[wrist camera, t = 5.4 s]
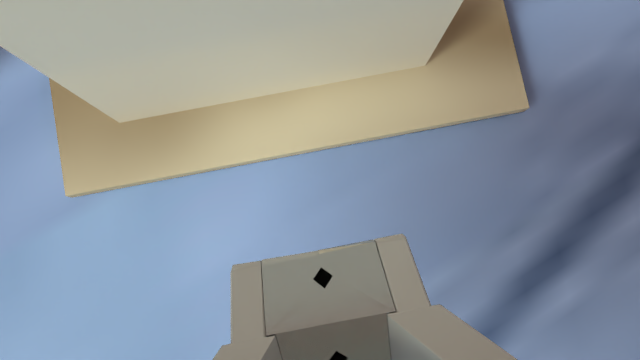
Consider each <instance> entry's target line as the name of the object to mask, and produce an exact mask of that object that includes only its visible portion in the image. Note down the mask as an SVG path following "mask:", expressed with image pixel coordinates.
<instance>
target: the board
mask: <svg viewBox="0 0 640 360" xmlns="http://www.w3.org/2000/svg"><path fill="white" fill-rule="evenodd" d="M49 80H50V87H51V95H52V102H53V109H54V116H55V123H56V130H57V138H58V145H59V152H60V159H61V166H62V173H63V180H64V188H65V195H66V196H68V197H77V196H83V195H88V194H93V193H99V192H104V191H109V190H114V189H120V188H125V187H130V186H135V185H141V184H146V183H151V182H156V181H162V180H167V179H172V178H177V177H183V176H188V175H193V174H198V173H204V172H209V171H214V170H219V169H225V168H230V167H235V166H240V165H246V164H251V163H256V162H261V161H267V160H272V159H277V158H282V157H288V156H293V155H298V154H303V153H309V152H314V151H319V150H324V149H330V148H335V147H340V146H345V145H351V144H356V143H361V142H366V141H372V140H377V139H382V138H387V137H393V136H398V135H403V134H408V133H414V132H419V131H424V130H429V129H435V128H440V127H445V126H450V125H456V124H461V123H466V122H471V121H477V120H482V119H487V118H492V117H498V116H503V115H508V114H513V113H519V112H524V111H525V110H527V109H528V108H529V104H528V99H527V95H526V91H525V87H524V83H523V79H522V75H521V71H520V67H519V63H518V59H517V55H516V50H515V46H514V42H513V38H512V34H511V30H510V26H509V22H508V18H507V14H506V10H505V6H504V1H503V0H464V1H463V2H462V4H461V6H460V7H459V9H458V11H457V12H456V14H455V16H454V18H453V19H452V21H451V23H450V24H449V26H448V28H447V29H446V31H445V33H444V35H443V36H442V38H441V40H440V41H439V43H438V45H437V46H436V48H435V50H434V52H433V53H432V55H431V57H430V58H429V60H428V62H427V63H426V65H425V66H421V67H415V68H410V69H405V70H399V71H394V72H389V73H383V74H378V75H373V76H367V77H362V78H357V79H351V80H346V81H341V82H335V83H330V84H324V85H319V86H314V87H308V88H303V89H298V90H292V91H287V92H282V93H276V94H271V95H266V96H260V97H255V98H250V99H244V100H239V101H234V102H228V103H223V104H218V105H212V106H207V107H202V108H196V109H191V110H186V111H180V112H175V113H169V114H164V115H159V116H153V117H148V118H143V119H137V120H132V121H127V122H121V123H119V122H117V121H116V120H114V119H113V118H111V117H110V116H108V115H106V114H105V113H103V112H102V111H100V110H99V109H97V108H96V107H94V106H92V105H91V104H89V103H88V102H86V101H85V100H83V99H82V98H80V97H78V96H77V95H75V94H74V93H72V92H71V91H69V90H68V89H66V88H65V87H63V86H61V85H60V84H58V83H57V82H55V81H54V80H52V79H51V78H49Z"/></svg>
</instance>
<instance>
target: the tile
mask: <svg viewBox="0 0 640 360" xmlns="http://www.w3.org/2000/svg"><path fill="white" fill-rule="evenodd" d="M463 1H464V0H0V46H1V47H2V48H4V49H6V50H7V51H9V52H10V53H12V54H13V55H15V56H16V57H18V58H19V59H21V60H23V61H24V62H26V63H27V64H29V65H30V66H32V67H33V68H35V69H37V70H38V71H40V72H41V73H43V74H44V75H46V76H47V77H49V78H51V79H52V80H54V81H55V82H57V83H58V84H60V85H61V86H63V87H65V88H66V89H68V90H69V91H71V92H72V93H74V94H75V95H77V96H78V97H80V98H82V99H83V100H85V101H86V102H88V103H89V104H91V105H92V106H94V107H96V108H97V109H99V110H100V111H102V112H103V113H105V114H106V115H108V116H110V117H111V118H113V119H114V120H116V121H117V122H119V123H121V122H127V121H132V120H137V119H143V118H148V117H153V116H159V115H164V114H169V113H175V112H180V111H186V110H191V109H196V108H202V107H207V106H212V105H218V104H223V103H228V102H234V101H239V100H244V99H250V98H255V97H260V96H266V95H271V94H276V93H282V92H287V91H292V90H298V89H303V88H308V87H314V86H319V85H324V84H330V83H335V82H341V81H346V80H351V79H357V78H362V77H367V76H373V75H378V74H383V73H389V72H394V71H399V70H405V69H410V68H415V67H421V66H425V65H426V63H427V62H428V60H429V58H430V57H431V55H432V53H433V52H434V50H435V48H436V46H437V45H438V43H439V41H440V40H441V38H442V36H443V35H444V33H445V31H446V29H447V28H448V26H449V24H450V23H451V21H452V19H453V18H454V16H455V14H456V12H457V11H458V9H459V7H460V6H461V4H462V2H463Z"/></svg>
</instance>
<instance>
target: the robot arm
mask: <svg viewBox="0 0 640 360" xmlns="http://www.w3.org/2000/svg"><path fill="white" fill-rule="evenodd" d="M213 360H517V359H516V358H514V357H513V356H512V355H510V354H509V353H507V352H506V351H505V350H503V349H502V348H500V347H499V346H498V345H496V344H495V343H493V342H492V341H491V340H489V339H488V338H486V337H485V336H484V335H482V334H481V333H479V332H478V331H477V330H475V329H474V328H472V327H471V326H470V325H468V324H467V323H465V322H464V321H463V320H461V319H460V318H458V317H457V316H456V315H454V314H453V313H451V312H450V311H449V310H447V309H446V308H444V307H443V306H442V305H440V304H439V305H433V306H431V304H430V301H429V299H428V296H427V293H426V291H425V288H424V285H423V282H422V280H421V277H420V274H419V272H418V269H417V266H416V263H415V261H414V258H413V255H412V253H411V250H410V247H409V244H408V242H407V239H406V237H405V236H404V235H403V234H398V235H393V236H388V237H383V238H378V239H374V240H368V241H363V242H358V243H353V244H348V245H342V246H337V247H332V248H327V249H322V250H318V251H313V252H307V253H301V254H295V255H289V256H283V257H276V258H270V259H264V260H262V261H256V262H249V263H243V264H237V265H233V266H232V270H231V344H227V345H223V346H221V348H220V349H219V351H218V352H217V354H216V355H215V357H214V358H213Z"/></svg>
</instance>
